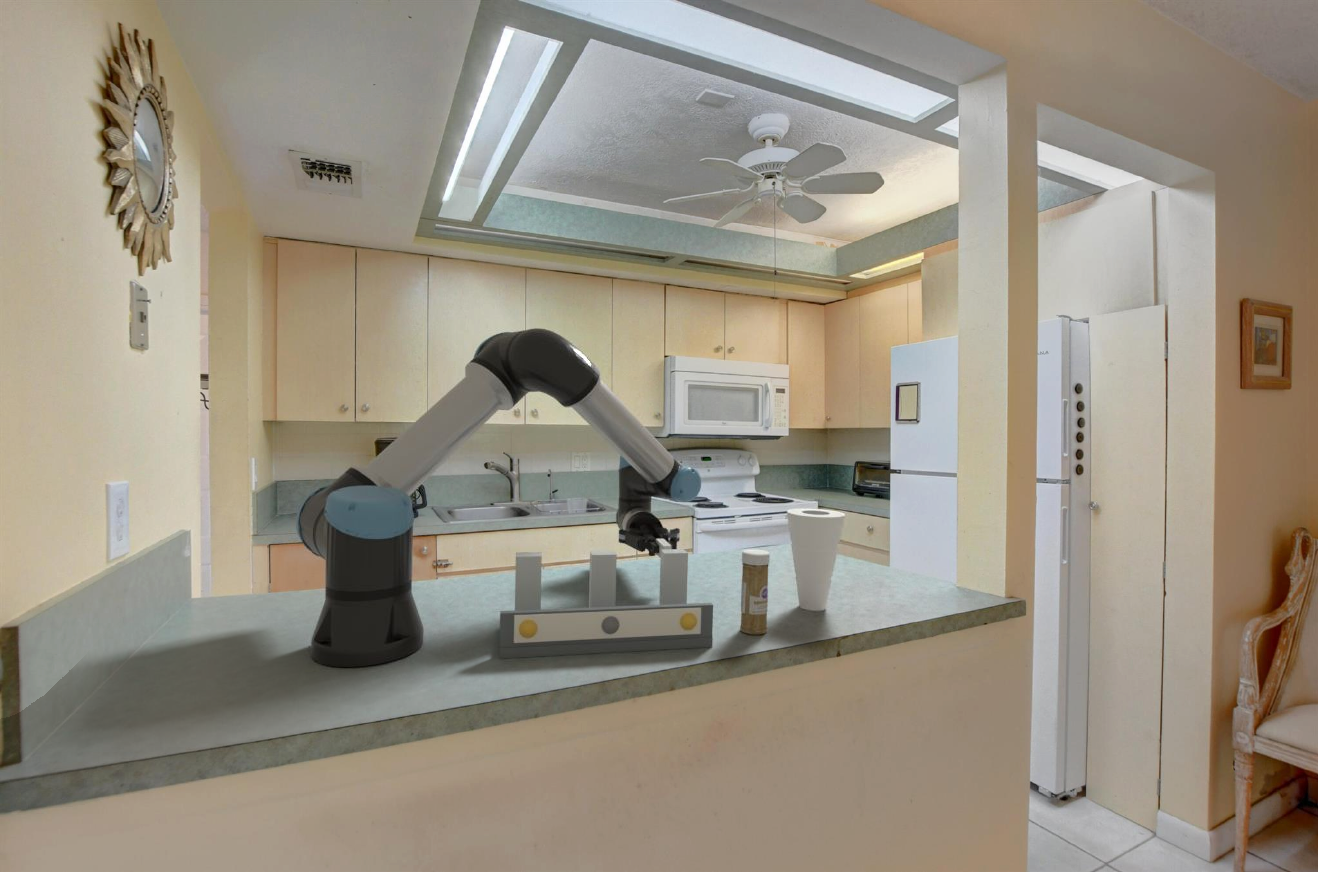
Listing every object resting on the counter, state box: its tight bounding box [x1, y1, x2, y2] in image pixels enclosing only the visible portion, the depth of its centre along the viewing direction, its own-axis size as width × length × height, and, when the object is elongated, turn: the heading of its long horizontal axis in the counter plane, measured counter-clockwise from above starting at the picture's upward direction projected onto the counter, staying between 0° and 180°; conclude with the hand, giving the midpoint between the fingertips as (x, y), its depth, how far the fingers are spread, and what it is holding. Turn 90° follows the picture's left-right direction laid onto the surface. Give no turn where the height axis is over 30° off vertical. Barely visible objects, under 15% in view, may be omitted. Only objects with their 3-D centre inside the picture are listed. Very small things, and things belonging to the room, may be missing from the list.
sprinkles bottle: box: [739, 548, 771, 636], centre depth 105 cm, size 5×5×14 cm
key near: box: [514, 551, 543, 610], centre depth 101 cm, size 4×3×11 cm
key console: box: [498, 602, 714, 660], centre depth 100 cm, size 32×13×6 cm, turn 102°
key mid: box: [588, 550, 618, 608], centre depth 104 cm, size 4×3×11 cm
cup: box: [786, 507, 846, 612], centre depth 119 cm, size 11×11×18 cm
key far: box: [658, 548, 689, 605], centre depth 106 cm, size 4×3×11 cm
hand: (667, 553), depth 113 cm, fingers closed
